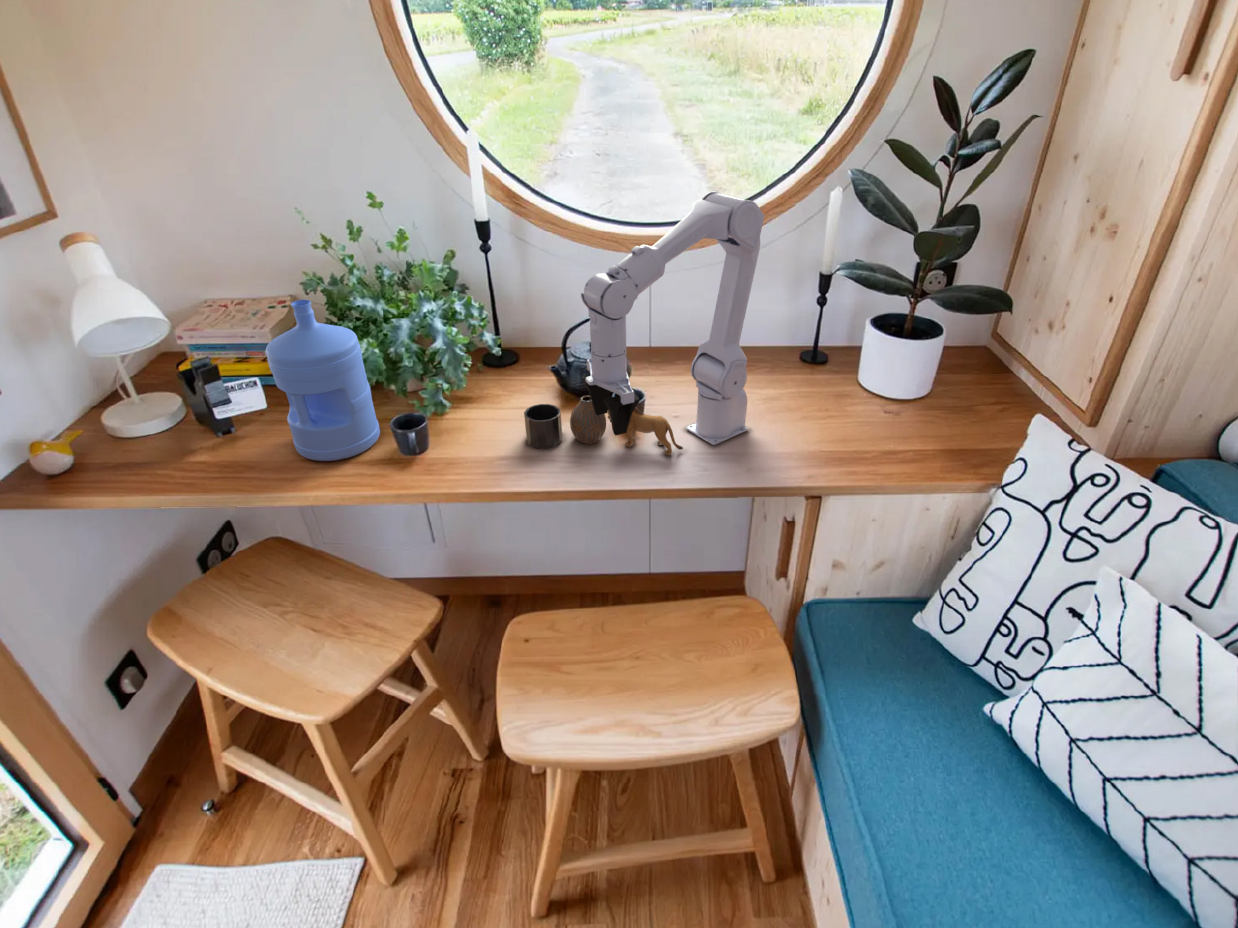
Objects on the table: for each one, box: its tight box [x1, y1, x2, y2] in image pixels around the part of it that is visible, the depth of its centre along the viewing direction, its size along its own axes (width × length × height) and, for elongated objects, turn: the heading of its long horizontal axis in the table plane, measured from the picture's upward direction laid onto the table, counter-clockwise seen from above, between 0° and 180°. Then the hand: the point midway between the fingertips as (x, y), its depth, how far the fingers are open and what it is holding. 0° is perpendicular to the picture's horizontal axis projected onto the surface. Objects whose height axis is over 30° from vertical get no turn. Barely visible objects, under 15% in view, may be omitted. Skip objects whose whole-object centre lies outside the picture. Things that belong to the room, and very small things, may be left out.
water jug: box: [265, 299, 381, 462], centre depth 125 cm, size 16×16×28 cm
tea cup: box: [523, 403, 563, 450], centre depth 131 cm, size 7×7×6 cm
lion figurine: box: [607, 406, 684, 456], centre depth 128 cm, size 15×5×9 cm, turn 73°
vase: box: [569, 395, 607, 445], centre depth 130 cm, size 7×7×9 cm
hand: (610, 423), depth 118 cm, fingers open, 7 cm apart
